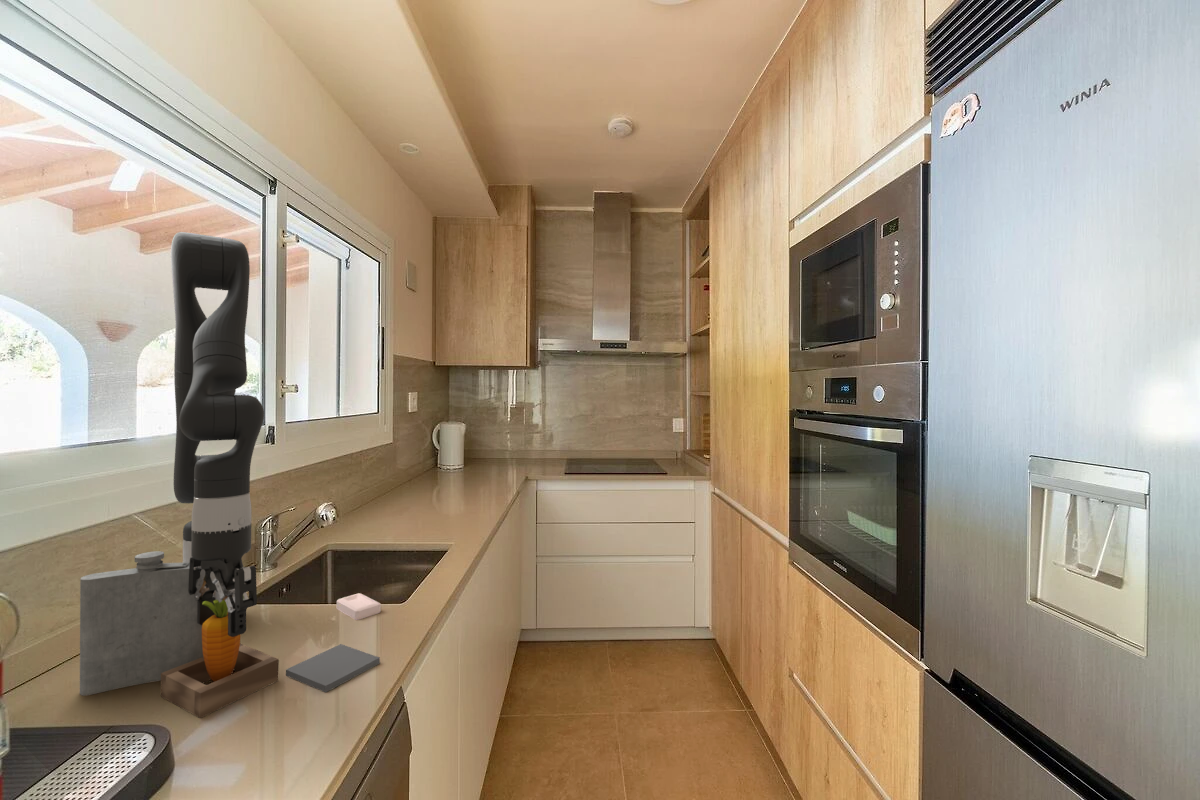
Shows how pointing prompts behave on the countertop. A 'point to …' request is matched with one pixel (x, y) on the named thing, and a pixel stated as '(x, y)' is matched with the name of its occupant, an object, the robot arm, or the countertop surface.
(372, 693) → the countertop surface
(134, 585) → the hip flask
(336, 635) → the countertop surface
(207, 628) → the carrot
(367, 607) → the soap bar
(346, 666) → the mat
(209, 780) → the countertop surface
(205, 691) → the socket collar
